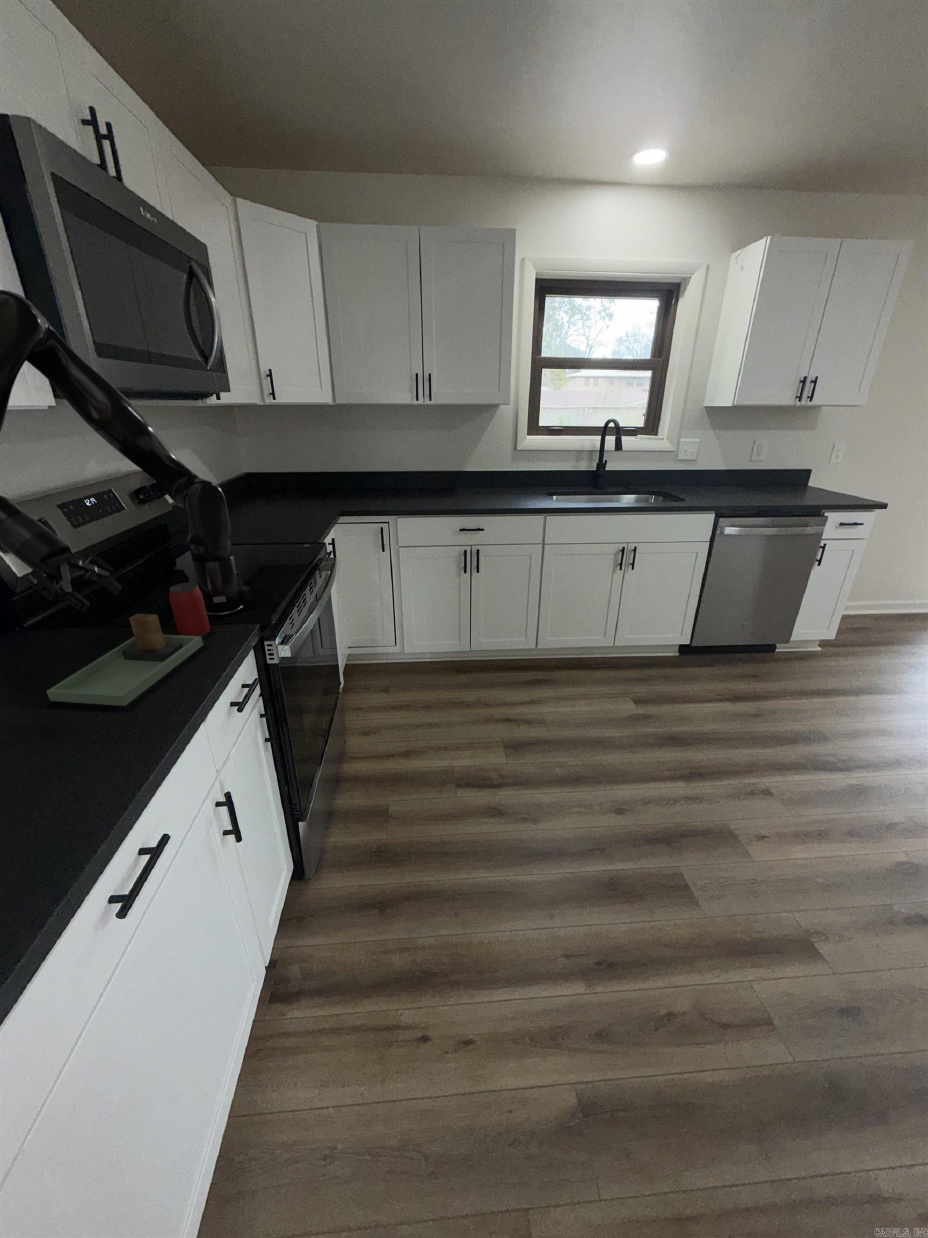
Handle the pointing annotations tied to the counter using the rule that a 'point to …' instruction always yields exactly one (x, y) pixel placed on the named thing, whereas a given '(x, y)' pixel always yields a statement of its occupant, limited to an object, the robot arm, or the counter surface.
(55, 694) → the tray
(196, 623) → the beer can
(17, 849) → the counter surface
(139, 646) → the eraser
